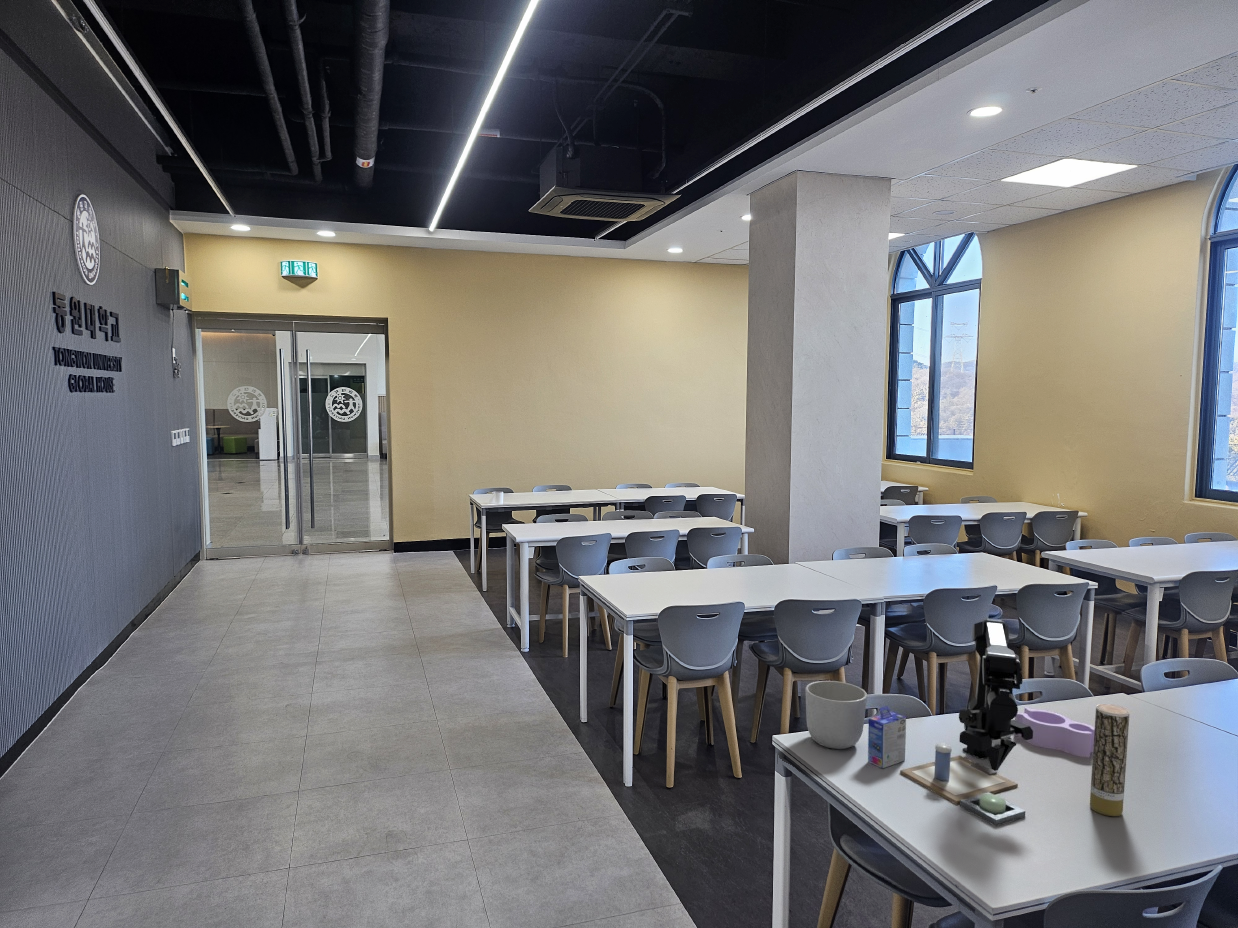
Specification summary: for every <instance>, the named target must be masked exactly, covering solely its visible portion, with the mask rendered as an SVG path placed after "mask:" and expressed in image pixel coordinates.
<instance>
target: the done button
mask: <svg viewBox="0 0 1238 928" xmlns="http://www.w3.org/2000/svg"><path fill="white" fill-rule="evenodd" d="M1006 801H1007V800H1005V799H1004V798H1003V797H1001V796H1000V795H996V794H982V795H981V796H980V805H978V807H980V808H982V809H984V810H986V811H988V812H990V813H991V814H993V815H998V814H1002V813H1005V812H1006V810H1005V809H1006Z"/></svg>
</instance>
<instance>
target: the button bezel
mask: <svg viewBox="0 0 1238 928" xmlns="http://www.w3.org/2000/svg"><path fill="white" fill-rule="evenodd" d="M984 794H991V793H990V792H988V793H984ZM981 795H982V794H981ZM981 795H977V796H974V797H970V798H967V799H963V800H960V804H959V807H960V808H962V809H964V810H966V811H968V812H970V813H971V814H973V815H975V816H977V817H978V818H980V819H982V820H984V821H985V822H988V823H989V824H991V825H993V826H994V827H998V826H1001V825H1004V824H1008V823H1011V822H1014V821H1018V820H1020V819H1023V818H1026V810H1025V809H1022V808H1020V807H1019V806H1017V805H1015V804H1013V803H1010V802H1009V801H1007V800H1005V801H1006V809H1005V813H1002V814H998V815H993V814H991V813H990V812H988V811H986V810H984V809H982V808H980V807H979V805H980V796H981Z"/></svg>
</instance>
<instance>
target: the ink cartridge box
mask: <svg viewBox="0 0 1238 928" xmlns="http://www.w3.org/2000/svg"><path fill="white" fill-rule="evenodd" d="M878 710H879V713H880V714H879V715H877V716H876V715H875V716H873V717H871V718H870V717H869V718H868V728H867V729H868V732H867V733H868V734H867V735H868V739H867V740H868V741H867V744H868V745H867V762H868V763H870V764H872V765H874V766H876V767H878V768H880V769H885V768H888V767H890V766H894V765H896V764H898V763H901V762H904V761H906V743H907V742H906V737H907V733H906V732H907V717H906V716H904V715H902V714H899V713H896V712H894V711H891V710H890V709H889V706H888V705H887V706H884V707H883V706H882V707H879V708H878ZM884 710H885V711H887V712H885V713H883V712H884Z"/></svg>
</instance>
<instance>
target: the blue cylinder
mask: <svg viewBox="0 0 1238 928" xmlns="http://www.w3.org/2000/svg"><path fill="white" fill-rule="evenodd" d="M934 749H935V754H934V762H935V772H934V777H935V778H936V779H937V780H939V781H948V780H949V777H950V758H951V757H952V756H951V755H952V754H951V753H952V746H951V745H950V744H947V743H944V742H938V743H935V747H934Z"/></svg>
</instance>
